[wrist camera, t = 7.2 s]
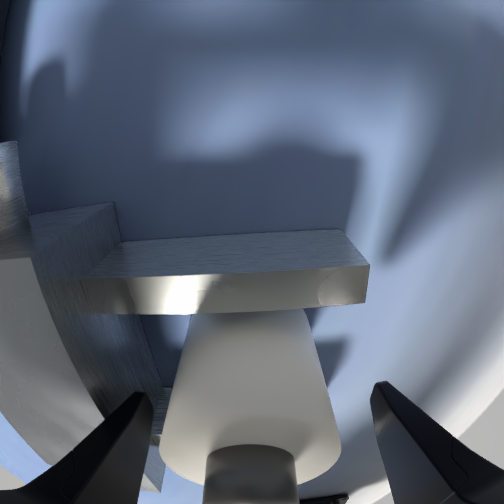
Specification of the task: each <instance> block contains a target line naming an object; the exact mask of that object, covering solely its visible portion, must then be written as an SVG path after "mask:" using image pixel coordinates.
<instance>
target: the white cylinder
mask: <svg viewBox="0 0 504 504" xmlns="http://www.w3.org/2000/svg"><path fill="white" fill-rule="evenodd" d="M341 450H342V448H341V442H340V437H339V433H338V429H337V425H336V421H335V417H334V413H333V410H332V406H331V402H330V398H329V394H328V390H327V387H326V383H325V379H324V375H323V372H322V368H321V364H320V361H319V357H318V353H317V350H316V346H315V343H314V339H313V336H312V332H311V329H310V325H309V322H308V318H307V316H306V313H305V311H304V309H289V310H274V311H256V312H235V313H207V314H192V317H191V320H190V324H189V327H188V331H187V335H186V338H185V342H184V346H183V350H182V354H181V358H180V361H179V365H178V369H177V373H176V377H175V381H174V385H173V389H172V393H171V397H170V401H169V406H168V410H167V414H166V418H165V423H164V427H163V431H162V436H161V440H160V445H159V453H160V456H161V458H162V460H163V461H164V463H165V464H166V465H167V466H168V467H169V468H170V469H171V470H173V471H174V472H175V473H177V474H178V475H180V476H182V477H184V478H186V479H188V480H190V481H192V482H195V483H198V484H201V485H204V492H203V503H202V504H299V495H298V486H297V485H299V484H302V483H304V482H307V481H309V480H312V479H314V478H316V477H318V476H319V475H321V474H323V473H324V472H326V471H327V470H328V469H330V468H331V467H332V466H333V465H334V464H335V463H336V461H337V460H338V458H339V456H340V454H341Z"/></svg>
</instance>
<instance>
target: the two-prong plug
mask: <svg viewBox="0 0 504 504" xmlns="http://www.w3.org/2000/svg"><path fill="white" fill-rule="evenodd" d="M369 269H370V264H369V263H368V262H367V261H366V259H365V258H364V257H363V256H362V255H361V253H360V252H359V251H358V250H357V249H356V247H355V246H354V245H353V244H352V243H351V241H350V240H349V239H348V238H347V237H346V236H345V234H344V233H343V232H342V231H341V230H340V229H329V230H307V231H287V232H267V233H249V234H232V235H215V236H199V237H183V238H169V239H154V240H140V241H127V242H121V237H120V232H119V227H118V222H117V216H116V211H115V205H114V202H108V203H101V204H94V205H87V206H80V207H73V208H67V209H61V210H55V211H49V212H43V213H38V214H32V215H28V212H27V207H26V202H25V197H24V191H23V185H22V179H21V172H20V165H19V157H18V147H17V141H15V140H14V141H7V142H3V143H0V412H1V413H2V414H3V416H4V417H5V418H6V419H7V421H8V422H9V423H10V424H11V425H12V427H13V428H14V429H15V430H16V431H17V432H18V434H19V435H20V436H21V437H22V438H23V439H24V440H25V441H26V443H27V444H28V445H29V446H30V447H31V448H32V449H33V450H34V451H35V452H36V453H37V454H38V455H39V456H40V457H41V458H42V459H43V460H44V461H45V462H46V463H47V464H50V465H52V466H54V465H55V464H56V463H57V462H59V461H60V460H61V459H62V458H63V457H64V456H66V455H67V454H68V453H69V452H70V451H71V450H73V448H74V447H75V446H77V445H78V444H79V443H80V442H81V441H82V440H83V439H84V438H85V437H86V436H87V435H89V434H90V433H91V432H92V431H93V430H94V429H95V428H96V427H97V426H98V425H99V424H100V423H101V422H103V421H104V420H105V419H106V418H107V417H108V416H109V415H110V414H111V413H112V412H113V411H114V410H115V409H116V408H117V407H119V406H120V405H121V404H122V403H123V402H124V401H125V400H126V399H127V398H128V397H129V396H130V395H131V394H132V393H133V392H135V391H143V392H146V393H147V394H148V396H149V398H150V401H151V403H152V405H153V409H154V412H153V420H152V429H151V438H150V446H149V452H148V456H147V460H146V465H145V469H144V474H143V478H142V483H141V487H140V490H145V491H151V492H157V493H161V488H162V482H163V477H164V471H165V466H166V464H165V463H164V461H163V460H162V458H161V456H160V453H159V445H160V440H161V436H162V431H163V427H164V423H165V418H166V414H167V410H168V406H169V401H170V397H171V393H172V389H173V387H163V385H162V383H161V380H160V377H159V374H158V372H157V369H156V366H155V363H154V360H153V357H152V354H151V351H150V348H149V345H148V342H147V338H146V335H145V332H144V329H143V325H142V322H141V319H140V315H139V314H207V313H235V312H256V311H274V310H289V309H303V308H315V307H327V306H338V305H348V304H358V303H365V299H366V292H367V285H368V277H369Z"/></svg>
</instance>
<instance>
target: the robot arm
mask: <svg viewBox="0 0 504 504" xmlns="http://www.w3.org/2000/svg"><path fill="white" fill-rule="evenodd" d="M370 405H371V410H372V416H373V421H374V427H375V433H376V438H377V442H378V446H379V449H380V453H381V456H382V459H383V463H384V466H385V470H386V474H387V477H388V481H389V484H390V488H391V492H392V496H393V500H394V503H395V504H504V470H503V469H501V468H499V467H498V466H496V465H494V464H492V463H491V462H489V461H487V460H486V459H484V458H483V457H481V456H479V455H478V454H477V453H475V452H474V451H472V450H470V449H469V448H468V447H467V446H465V445H464V444H463V443H461V442H460V441H459V440H458V439H456V438H455V437H453V436H452V435H451V434H450V433H449V432H448V431H447V430H445V429H444V428H443V427H442V426H441V425H439V424H438V423H437V422H436V421H434V420H433V419H432V418H431V417H430V416H428V415H427V414H426V413H425V412H424V411H422V410H421V409H420V408H419V407H418V406H416V405H415V404H414V403H413V402H412V401H410V400H409V399H408V398H407V397H406V396H404V395H403V394H402V393H401V392H400V391H398V390H397V389H396V388H395V387H394V386H392V385H391V384H390V383H389V382H387V381H382V382H377V383H376V384H375V385H374V388H373V391H372V394H371V397H370ZM153 412H154V409H153V405H152V403H151V401H150V398H149V396H148V394H147V393H146V392H143V391H135V392H133V393H132V394H131V395H130V396H129V397H128V398H127V399H126V400H125V401H124V402H123V403H122V404H121V405H120V406H119V407H117V408H116V409H115V410H114V411H113V412H112V413H111V414H110V415H109V416H108V417H107V418H106V419H105V420H104V421H103V422H101V423H100V424H99V425H98V426H97V427H96V428H95V429H94V430H93V431H92V432H91V433H90V434H89V435H87V436H86V437H85V438H84V439H83V440H82V441H81V442H80V443H79V444H78V445H77V446H75V447H74V448H73V450H71V451H70V452H69V453H68V454H67V455H66V456H64V457H63V458H62V459H61V460H60V461H59V462H57V463H56V464H55V465H54V466H52V467H51V468H50V469H48V470H47V471H45V472H44V473H43V474H41V475H40V476H38V477H37V478H35V479H34V480H32V481H31V482H29V483H28V484H26V485H25V486H23V487H20V488H17V489H13V490H0V504H137V502H138V497H139V492H140V487H141V483H142V478H143V474H144V469H145V465H146V460H147V456H148V452H149V446H150V438H151V429H152V420H153ZM348 499H349V496H348V494H344V495H339V496H334V497H328V498H321V499H314V500H307V501H299V504H345V503H346V502H347V500H348Z"/></svg>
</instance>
